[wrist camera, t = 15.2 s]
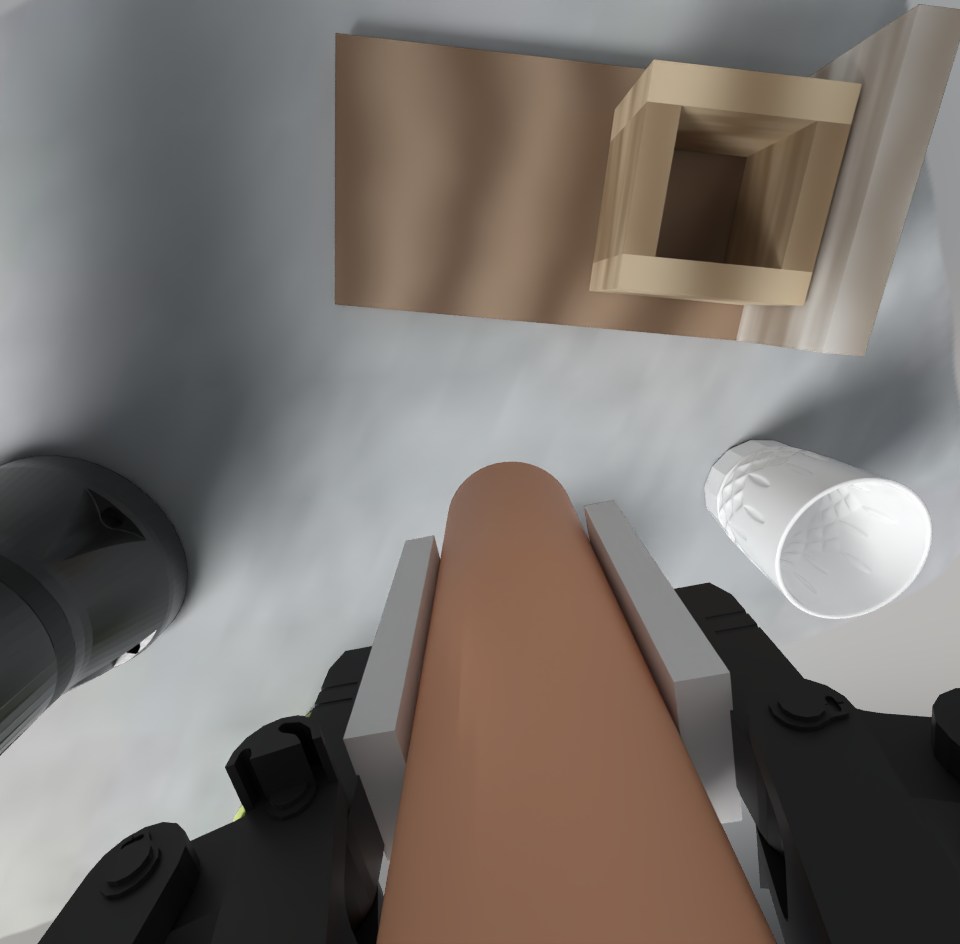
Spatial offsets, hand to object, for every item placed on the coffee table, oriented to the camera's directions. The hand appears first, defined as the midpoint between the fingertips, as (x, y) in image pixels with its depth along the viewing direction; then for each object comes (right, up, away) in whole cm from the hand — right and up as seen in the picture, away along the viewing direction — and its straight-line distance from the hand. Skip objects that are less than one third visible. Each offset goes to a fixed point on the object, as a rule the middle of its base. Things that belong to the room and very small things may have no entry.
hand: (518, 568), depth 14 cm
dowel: (0, +1, +3) cm, 3 cm away
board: (+4, +18, +17) cm, 25 cm away
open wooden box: (+10, +17, +15) cm, 25 cm away
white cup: (+18, +2, +22) cm, 29 cm away
